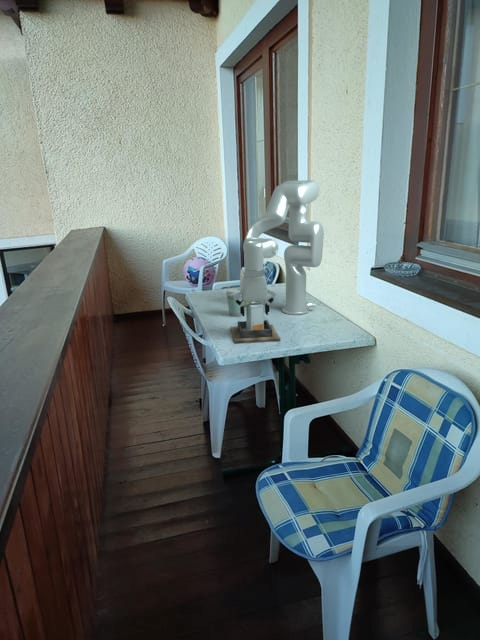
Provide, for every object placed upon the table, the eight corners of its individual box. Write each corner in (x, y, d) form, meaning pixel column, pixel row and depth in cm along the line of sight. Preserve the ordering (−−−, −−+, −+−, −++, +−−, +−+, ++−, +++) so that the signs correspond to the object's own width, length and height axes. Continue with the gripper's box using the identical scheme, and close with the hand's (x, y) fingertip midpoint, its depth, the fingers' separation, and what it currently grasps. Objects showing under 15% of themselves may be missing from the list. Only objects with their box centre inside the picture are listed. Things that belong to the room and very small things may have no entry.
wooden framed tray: (272, 326, 191) (272, 317, 189) (280, 341, 173) (280, 331, 172) (230, 328, 189) (230, 320, 188) (234, 343, 172) (234, 333, 171)
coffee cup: (242, 318, 203) (242, 292, 200) (224, 317, 205) (224, 292, 201) (246, 312, 211) (245, 288, 208) (228, 312, 213) (228, 287, 209)
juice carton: (256, 302, 228) (255, 266, 222) (255, 307, 220) (254, 269, 214) (241, 302, 229) (241, 266, 223) (240, 307, 220) (239, 269, 215)
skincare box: (251, 334, 178) (250, 306, 174) (246, 332, 182) (245, 303, 178) (264, 332, 180) (264, 304, 177) (259, 329, 184) (258, 301, 180)
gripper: (274, 270, 178) (274, 310, 183) (231, 272, 176) (232, 313, 182) (277, 274, 171) (277, 316, 176) (233, 276, 169) (234, 318, 175)
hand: (254, 314), depth 179 cm, fingers open, 9 cm apart
